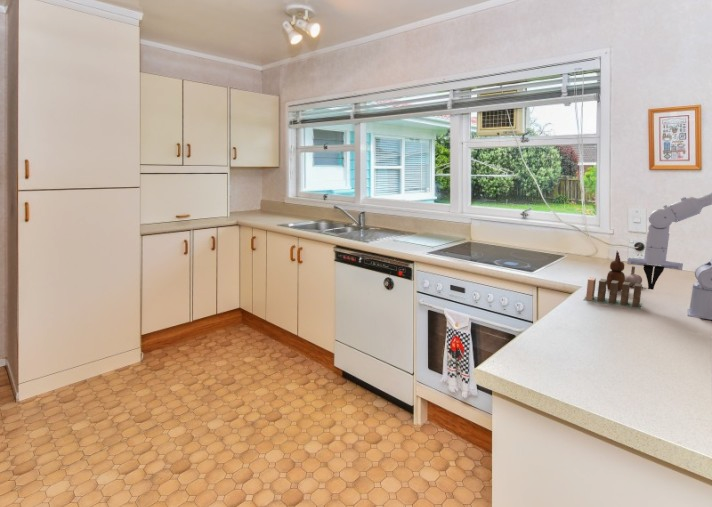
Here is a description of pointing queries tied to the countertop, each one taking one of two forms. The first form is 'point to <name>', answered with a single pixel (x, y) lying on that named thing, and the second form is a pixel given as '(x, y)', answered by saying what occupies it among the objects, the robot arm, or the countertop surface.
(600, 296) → the domino
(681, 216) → the robot arm
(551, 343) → the countertop surface
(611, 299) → the domino
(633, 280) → the garlic bulb
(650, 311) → the countertop surface
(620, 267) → the wooden figurine
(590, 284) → the domino end
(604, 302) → the mat
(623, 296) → the domino
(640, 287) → the domino
